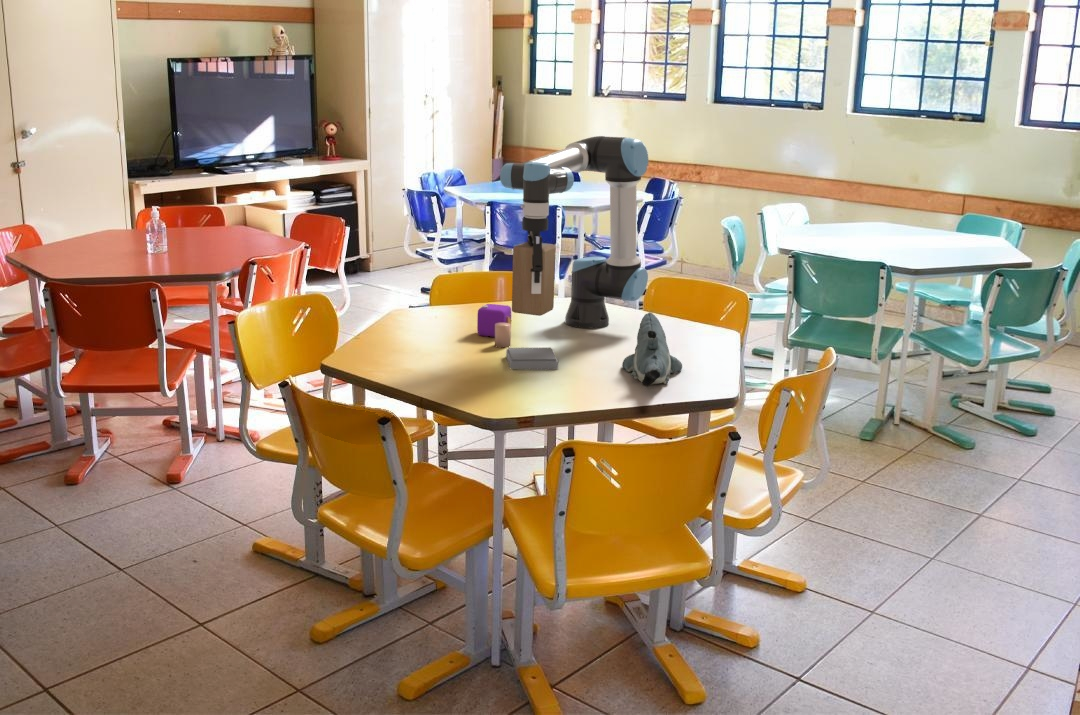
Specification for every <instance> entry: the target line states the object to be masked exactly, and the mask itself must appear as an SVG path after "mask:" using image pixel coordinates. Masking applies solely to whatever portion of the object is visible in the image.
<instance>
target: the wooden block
mask: <svg viewBox="0 0 1080 715" xmlns="http://www.w3.org/2000/svg"><path fill="white" fill-rule="evenodd" d="M512 249H513V250H512V277H511V278H512V280H511V281H512V283H511V284H512V285H511V286H512V288H511V290H512V291H511V313H512V312H513V313H514V314H524V315H530V316H539V317H540V316H543V315H545V314H547V313H549V312H551V311H553V310H554V302H555V301H554V299H555V276H556V275H555V272H556V271H555V270H556V267H555V266H556V245H555V244H553V243H547V242H546V243H545V242H542V266H543V270H542V275H541V294H531V288H532V272H530V269H533V265H532V254H533V246H532V247H530V244H528V241H525V242H522V243H519V244H517V245H514V246H513V248H512Z"/></svg>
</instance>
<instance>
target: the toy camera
mask: <svg viewBox="0 0 1080 715" xmlns="http://www.w3.org/2000/svg"><path fill="white" fill-rule="evenodd" d="M476 322H477V323H476V324H477V326H476V328H477V334H478V335H479V336H481V337H488V336H490V337H492V338H495V324H496V323H509V324H511V325H512V306H510V305H504V304H495V303H494V304H493V303H486V304H484V305H482V306H481V307H480V308H478V309H477V320H476ZM490 337H489V338H490Z"/></svg>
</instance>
